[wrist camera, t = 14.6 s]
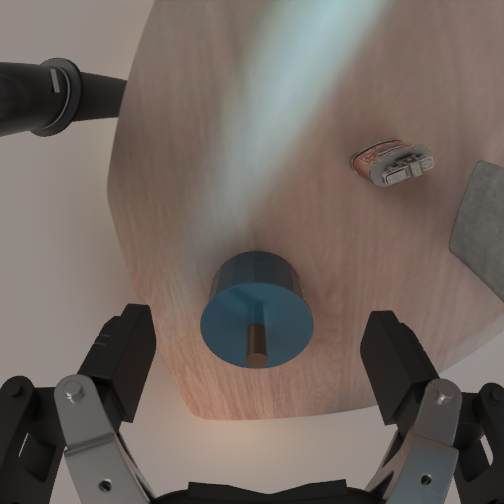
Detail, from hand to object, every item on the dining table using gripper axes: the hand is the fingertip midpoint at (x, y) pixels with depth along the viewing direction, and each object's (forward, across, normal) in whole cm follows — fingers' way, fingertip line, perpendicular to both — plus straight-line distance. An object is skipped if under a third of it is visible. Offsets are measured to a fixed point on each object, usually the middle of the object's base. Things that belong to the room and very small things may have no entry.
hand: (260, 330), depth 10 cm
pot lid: (+20, -1, +17) cm, 26 cm away
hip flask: (+28, -33, +2) cm, 44 cm away
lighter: (+28, -16, -4) cm, 33 cm away
